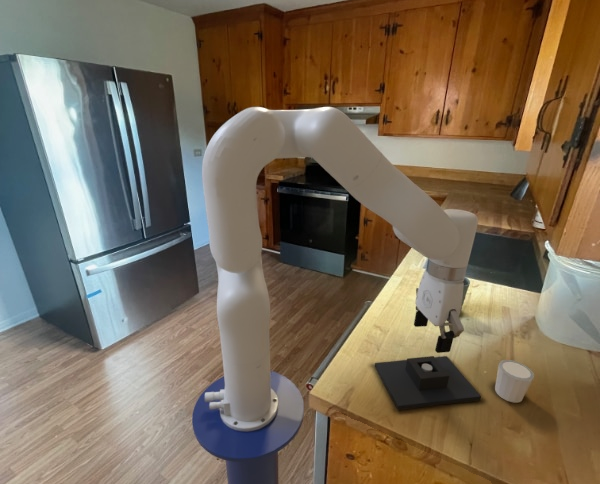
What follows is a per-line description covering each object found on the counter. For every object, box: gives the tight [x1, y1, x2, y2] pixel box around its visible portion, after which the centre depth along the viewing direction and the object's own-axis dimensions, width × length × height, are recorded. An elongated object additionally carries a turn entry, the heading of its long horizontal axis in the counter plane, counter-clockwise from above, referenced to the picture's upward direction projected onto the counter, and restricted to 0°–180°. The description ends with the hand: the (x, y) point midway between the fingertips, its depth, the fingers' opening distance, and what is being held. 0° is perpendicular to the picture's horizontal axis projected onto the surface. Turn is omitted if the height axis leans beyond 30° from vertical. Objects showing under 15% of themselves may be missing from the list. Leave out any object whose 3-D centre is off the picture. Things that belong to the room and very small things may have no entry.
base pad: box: [374, 355, 482, 411], centre depth 79 cm, size 20×14×5 cm
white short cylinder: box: [494, 359, 535, 404], centre depth 76 cm, size 7×7×7 cm
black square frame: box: [405, 355, 449, 391], centre depth 79 cm, size 7×7×4 cm
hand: (430, 337), depth 75 cm, fingers open, 9 cm apart
